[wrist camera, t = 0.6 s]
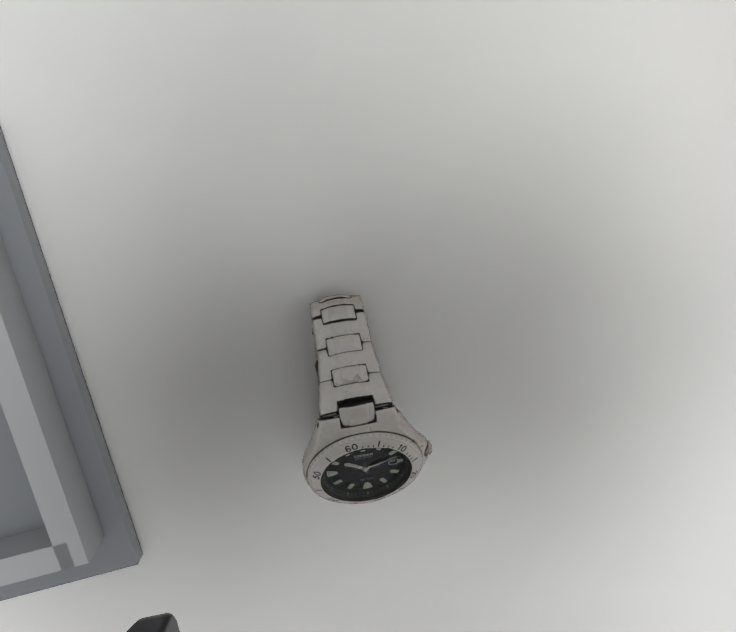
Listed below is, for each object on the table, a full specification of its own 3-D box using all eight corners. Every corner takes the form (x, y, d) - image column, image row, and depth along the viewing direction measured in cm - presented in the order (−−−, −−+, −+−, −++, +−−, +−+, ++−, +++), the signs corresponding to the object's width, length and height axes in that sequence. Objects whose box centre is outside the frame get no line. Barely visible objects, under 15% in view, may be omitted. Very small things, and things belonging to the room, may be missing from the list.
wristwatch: (312, 477, 21) (316, 560, 16) (279, 295, 20) (272, 324, 15) (416, 457, 21) (450, 533, 16) (389, 277, 20) (417, 300, 15)
